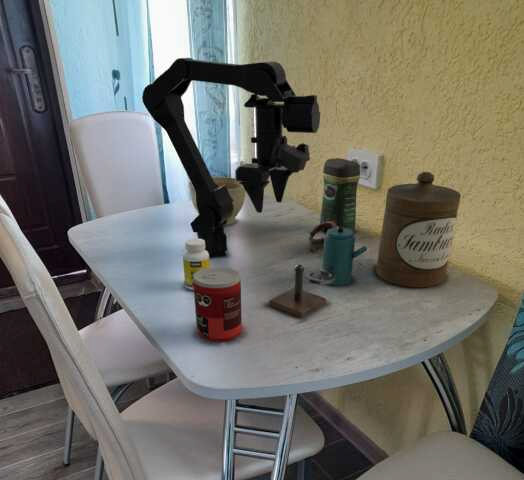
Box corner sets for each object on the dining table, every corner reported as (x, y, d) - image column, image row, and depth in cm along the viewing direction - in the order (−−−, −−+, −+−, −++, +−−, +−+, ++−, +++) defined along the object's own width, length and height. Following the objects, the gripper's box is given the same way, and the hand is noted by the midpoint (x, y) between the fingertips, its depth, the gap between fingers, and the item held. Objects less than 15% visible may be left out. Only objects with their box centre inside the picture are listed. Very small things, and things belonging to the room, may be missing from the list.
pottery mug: (354, 260, 121) (341, 233, 116) (317, 273, 125) (303, 248, 119) (351, 232, 129) (339, 206, 124) (317, 245, 133) (304, 221, 128)
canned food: (197, 323, 93) (193, 267, 87) (240, 321, 94) (239, 265, 88) (196, 344, 86) (191, 285, 81) (242, 342, 87) (241, 283, 81)
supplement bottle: (190, 293, 104) (186, 247, 99) (181, 283, 108) (177, 239, 103) (214, 288, 106) (212, 243, 101) (205, 278, 110) (202, 235, 105)
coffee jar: (359, 231, 138) (367, 160, 128) (338, 237, 134) (344, 164, 124) (336, 223, 144) (341, 154, 135) (314, 228, 141) (318, 158, 131)
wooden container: (401, 292, 104) (418, 183, 93) (363, 267, 116) (374, 167, 105) (459, 282, 109) (482, 177, 98) (417, 258, 121) (433, 162, 109)
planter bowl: (245, 230, 139) (245, 190, 133) (187, 230, 139) (184, 189, 133) (248, 213, 152) (247, 176, 147) (194, 213, 153) (192, 176, 147)
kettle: (299, 296, 103) (301, 240, 96) (328, 271, 114) (332, 220, 108) (341, 307, 99) (347, 249, 93) (367, 280, 110) (374, 227, 104)
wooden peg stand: (294, 292, 104) (295, 254, 100) (326, 303, 100) (329, 263, 95) (269, 305, 99) (269, 265, 95) (301, 318, 95) (303, 276, 90)
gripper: (282, 140, 94) (282, 223, 102) (322, 127, 108) (319, 201, 116) (232, 137, 99) (235, 216, 107) (276, 125, 113) (276, 196, 121)
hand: (269, 207), depth 112 cm, fingers open, 9 cm apart
